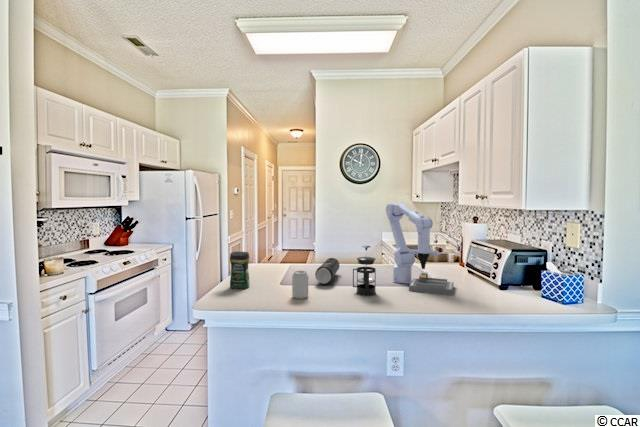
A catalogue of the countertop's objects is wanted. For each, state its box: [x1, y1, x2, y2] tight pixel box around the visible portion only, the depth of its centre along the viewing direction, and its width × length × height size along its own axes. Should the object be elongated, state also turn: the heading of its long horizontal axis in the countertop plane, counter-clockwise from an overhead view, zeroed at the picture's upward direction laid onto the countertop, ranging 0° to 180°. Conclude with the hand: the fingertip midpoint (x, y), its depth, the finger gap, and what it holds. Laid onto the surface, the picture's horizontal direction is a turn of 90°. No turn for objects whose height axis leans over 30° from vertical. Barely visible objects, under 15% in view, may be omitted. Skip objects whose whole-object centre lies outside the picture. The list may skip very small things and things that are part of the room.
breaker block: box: [408, 271, 455, 296], centre depth 178 cm, size 20×16×7 cm
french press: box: [352, 245, 377, 297], centre depth 170 cm, size 12×9×23 cm
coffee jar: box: [229, 251, 251, 290], centre depth 181 cm, size 10×8×19 cm
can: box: [291, 270, 309, 300], centre depth 164 cm, size 8×8×12 cm
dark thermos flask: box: [315, 257, 341, 285], centre depth 196 cm, size 10×28×10 cm, turn 169°
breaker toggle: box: [418, 274, 426, 283], centre depth 176 cm, size 3×3×4 cm
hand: (423, 268), depth 177 cm, fingers closed
